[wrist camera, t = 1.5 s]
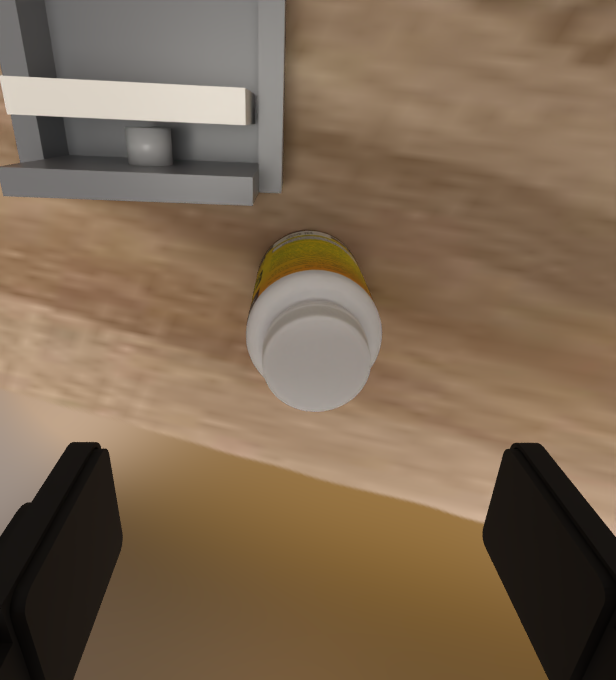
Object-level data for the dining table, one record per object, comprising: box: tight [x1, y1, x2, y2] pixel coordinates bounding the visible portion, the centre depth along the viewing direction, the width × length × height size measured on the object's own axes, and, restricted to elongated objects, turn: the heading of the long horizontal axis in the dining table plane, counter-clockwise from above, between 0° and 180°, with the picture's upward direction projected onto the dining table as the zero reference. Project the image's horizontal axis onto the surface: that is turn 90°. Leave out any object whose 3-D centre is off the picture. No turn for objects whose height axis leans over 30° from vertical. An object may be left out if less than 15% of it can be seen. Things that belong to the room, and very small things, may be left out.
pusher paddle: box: [0, 76, 255, 125], centre depth 19 cm, size 8×1×5 cm, turn 87°
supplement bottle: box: [246, 231, 382, 412], centre depth 22 cm, size 6×6×10 cm
